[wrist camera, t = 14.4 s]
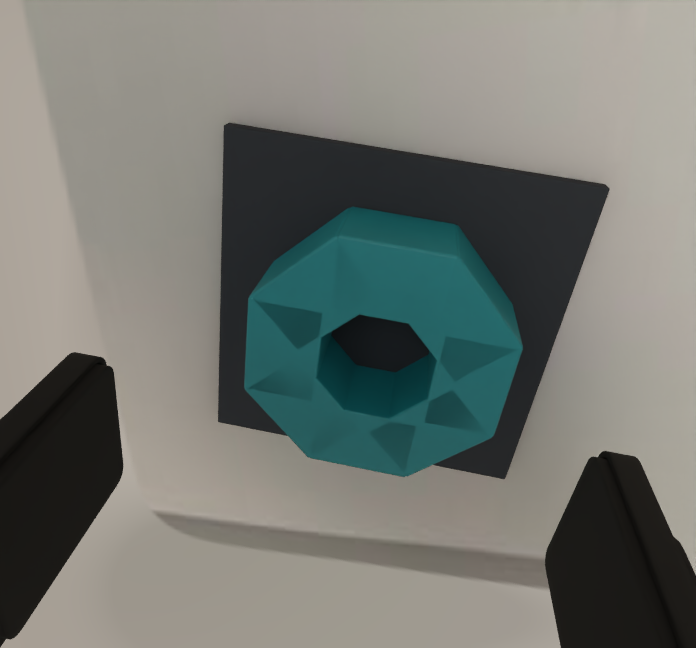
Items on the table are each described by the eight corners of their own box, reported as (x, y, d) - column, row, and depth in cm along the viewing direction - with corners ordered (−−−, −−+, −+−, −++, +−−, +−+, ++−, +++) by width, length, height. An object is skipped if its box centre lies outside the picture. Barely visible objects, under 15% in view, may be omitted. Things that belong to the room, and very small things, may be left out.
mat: (221, 415, 20) (217, 422, 20) (228, 122, 15) (223, 124, 15) (503, 471, 19) (505, 480, 19) (606, 184, 14) (610, 188, 14)
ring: (263, 397, 19) (240, 445, 17) (277, 192, 15) (251, 219, 13) (472, 438, 18) (475, 492, 16) (534, 236, 15) (549, 272, 13)
